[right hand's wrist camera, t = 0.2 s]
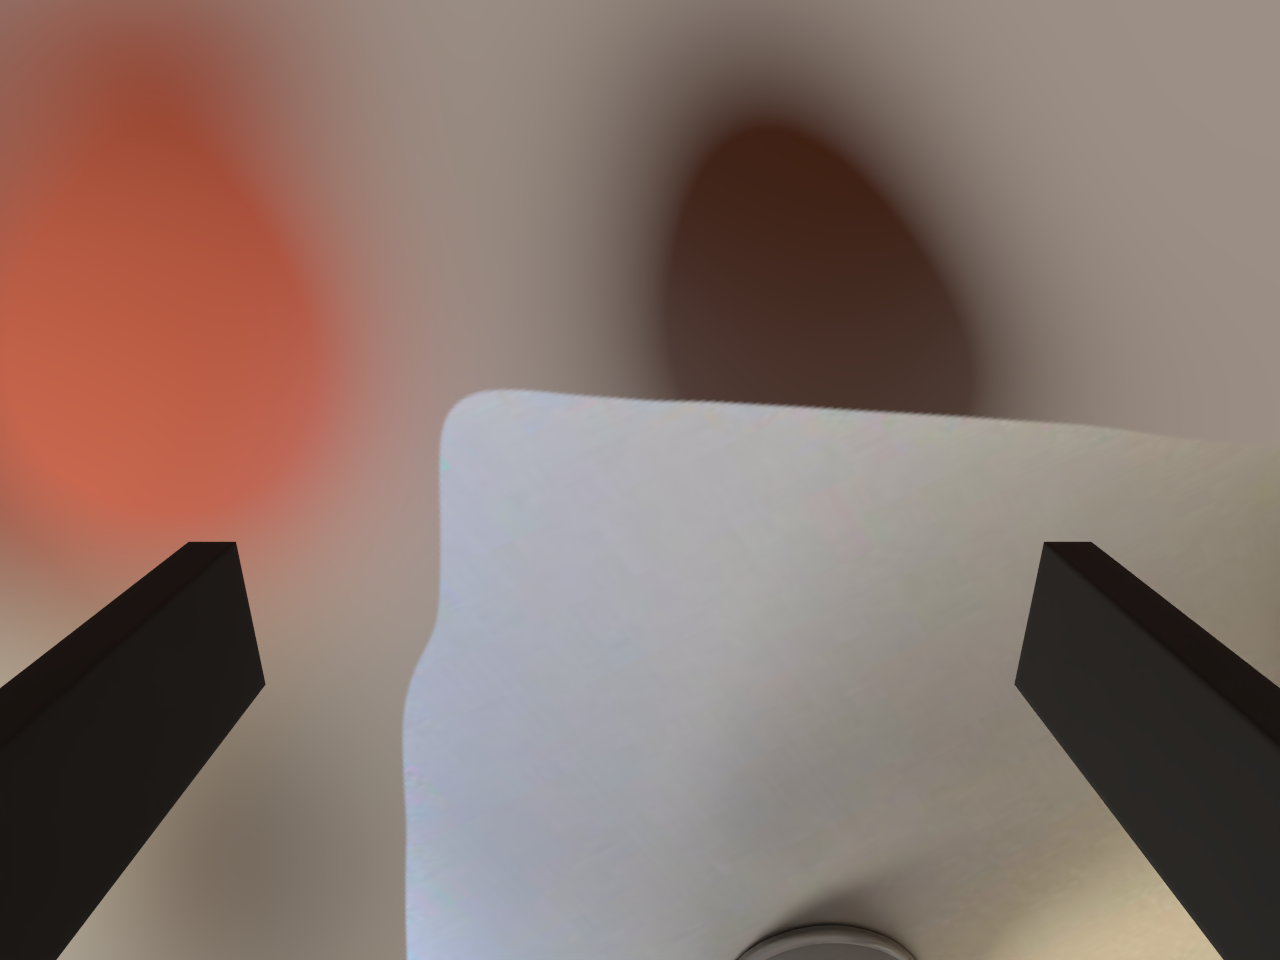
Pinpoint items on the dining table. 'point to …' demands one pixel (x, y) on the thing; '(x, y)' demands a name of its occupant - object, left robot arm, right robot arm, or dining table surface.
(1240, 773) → the right robot arm
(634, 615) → the dining table surface
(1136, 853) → the dining table surface
